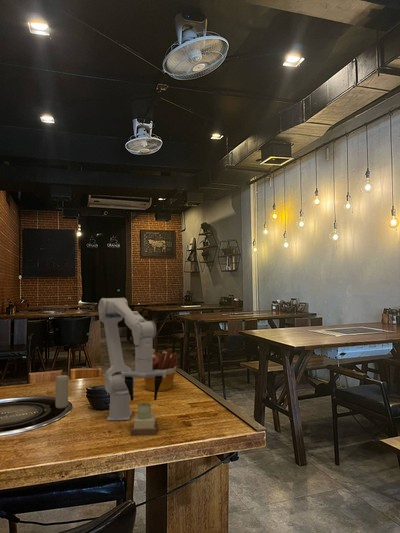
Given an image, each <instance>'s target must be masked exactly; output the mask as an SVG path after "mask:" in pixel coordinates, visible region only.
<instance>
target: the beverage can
mask: <svg viewBox="0 0 400 533" xmlns="http://www.w3.org/2000/svg"><path fill="white" fill-rule="evenodd" d="M54 399H55V408H56V409H64V408H67V407H68V405H69V375H66V374H63V375H57V376H56V377H55V398H54Z"/></svg>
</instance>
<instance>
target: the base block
mask: <svg viewBox="0 0 400 533" xmlns="http://www.w3.org/2000/svg"><path fill="white" fill-rule="evenodd" d="M158 426H159V424H158V420H155V425H154V428H140V429H134V421H133V423H132V426H131V429H130V436H131V437H133V436H134V437H138V436H139V437H141V436H142V437H145V436H146V437H149V436H157V433H158V432H157V431H158Z"/></svg>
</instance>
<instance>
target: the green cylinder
mask: <svg viewBox="0 0 400 533" xmlns="http://www.w3.org/2000/svg"><path fill="white" fill-rule="evenodd" d="M137 414H138V419H140V420H146V419H150V418H151V414H152V403H148V402H142V403H139V404H137Z"/></svg>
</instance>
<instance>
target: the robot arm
mask: <svg viewBox="0 0 400 533" xmlns="http://www.w3.org/2000/svg"><path fill="white" fill-rule="evenodd" d="M98 302H99V303H98V306H97V309H98V310H97V311H98V317H99V321H100V322H101V323H103V326H104V331H105V332H104V333H105V338H106V345H107V351H108V356H109V357H108V358H109V364H110V367H109V368H108V369H107V370H106V371H105V372H104V383H103V384H104V388H105V389H104V390H105V391H106V392H107V394H108V393H109V394H110V404H109V409H108V410H109V413H108V416H107V418H106V421H130V418H131V416H132V413H133V411H132V410H130V402H133V401H134V388H135V384H136V380H135V379H137V378H139V379H140V378H141V379H142V378H143V379H144V377H155V392H154V396H153V398H154V399H153V400H154V401H157V398H158V393H159V392H158V389H159V387H160V384H161V382H162V378H166V371H161V370H152V362H153V361H152V359H153V349H154V348H153V345H154V344H153V343H154V342H153V339H154V338H155V337H156V334H157V327H156V324H155V322H154V321H153V320H146V319H145V318H144V317H143V316H142V315H141V314H140V313H139V311H137V310H135V311H134V310H133V311H132V309H131V308H130V307H129V305H128V304H129V303H128V300H127V299H126V298H125V297H112V298H111V297H110V298H109V297H107V298H105V297H102V298H101V299H100V300H99V301H98ZM123 319H124V324H125V325H126V326H127V327H128V328H129V330H131V335H132V339H133V345H135V348H134V349H135V351H134V354H135V355H134V359H135V360H134V364H135V365H134V367H135V368H134V370H132V368H131V367H130V366H128V365H126V363H125V360H124V355H123V349H122V344H121V343H122V342H121V338H120V332H119V326H118V323H119V322H121V321H123Z"/></svg>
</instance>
